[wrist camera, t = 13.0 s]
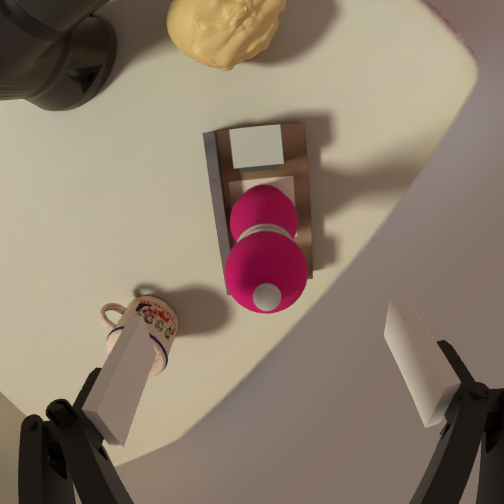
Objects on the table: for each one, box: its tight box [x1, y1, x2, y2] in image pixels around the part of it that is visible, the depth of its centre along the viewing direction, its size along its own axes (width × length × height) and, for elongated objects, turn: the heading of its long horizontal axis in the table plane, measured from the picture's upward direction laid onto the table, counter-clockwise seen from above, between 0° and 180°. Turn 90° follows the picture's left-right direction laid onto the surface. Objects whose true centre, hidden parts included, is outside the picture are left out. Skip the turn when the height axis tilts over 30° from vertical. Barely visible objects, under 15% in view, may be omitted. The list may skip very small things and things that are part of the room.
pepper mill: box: [225, 185, 308, 313], centre depth 28 cm, size 7×7×20 cm
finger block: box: [229, 124, 284, 173], centre depth 31 cm, size 5×5×5 cm
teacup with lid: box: [99, 296, 178, 377], centre depth 40 cm, size 12×9×12 cm
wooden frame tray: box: [213, 123, 313, 279], centre depth 38 cm, size 20×11×2 cm, turn 6°
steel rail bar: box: [203, 131, 232, 295], centre depth 36 cm, size 20×1×2 cm, turn 6°
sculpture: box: [166, 0, 286, 71], centre depth 25 cm, size 12×12×11 cm
